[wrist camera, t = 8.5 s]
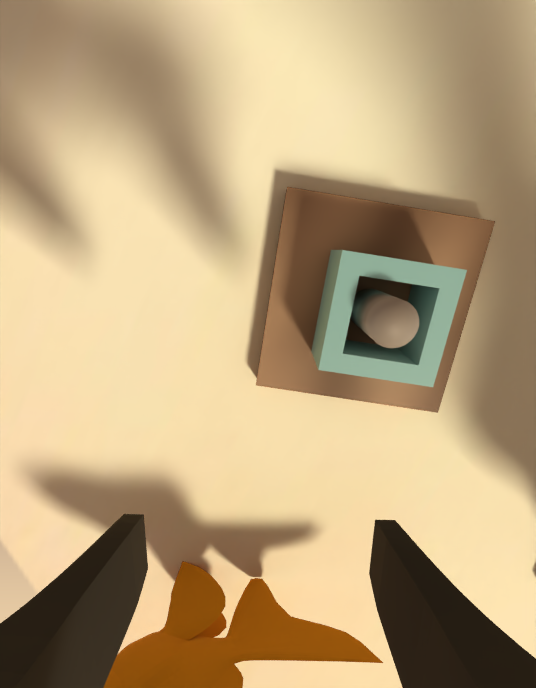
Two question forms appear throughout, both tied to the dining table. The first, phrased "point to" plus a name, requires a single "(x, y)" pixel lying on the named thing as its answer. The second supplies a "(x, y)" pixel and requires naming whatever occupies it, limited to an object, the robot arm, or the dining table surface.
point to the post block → (361, 290)
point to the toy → (222, 653)
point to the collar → (375, 360)
